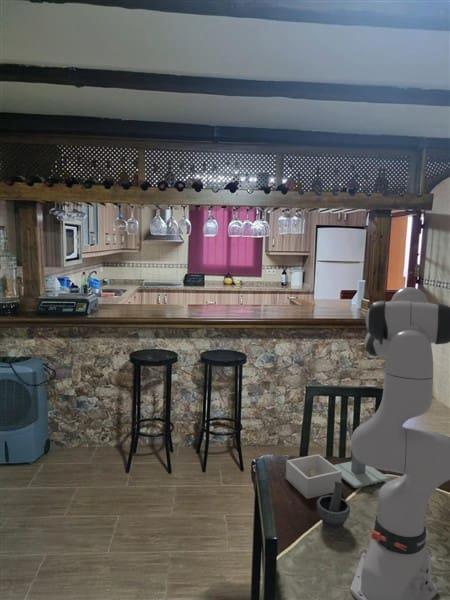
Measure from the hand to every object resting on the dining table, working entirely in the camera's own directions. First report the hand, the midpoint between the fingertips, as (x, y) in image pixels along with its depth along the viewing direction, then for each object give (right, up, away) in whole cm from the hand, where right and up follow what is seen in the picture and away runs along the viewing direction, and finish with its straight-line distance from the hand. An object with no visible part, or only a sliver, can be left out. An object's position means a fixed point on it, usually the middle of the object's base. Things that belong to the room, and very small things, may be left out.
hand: (395, 406), depth 153 cm
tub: (-31, -28, -2) cm, 41 cm away
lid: (-13, -28, +3) cm, 31 cm away
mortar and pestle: (-29, -30, -25) cm, 49 cm away
